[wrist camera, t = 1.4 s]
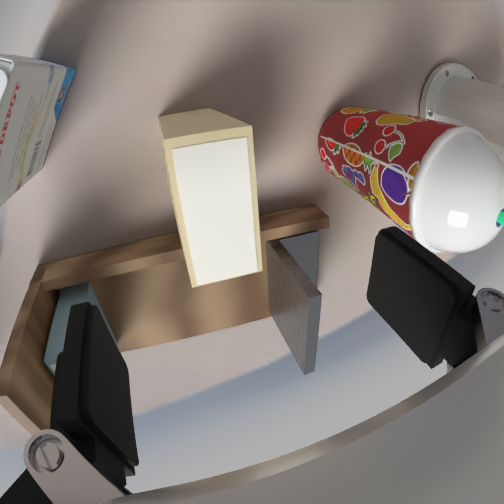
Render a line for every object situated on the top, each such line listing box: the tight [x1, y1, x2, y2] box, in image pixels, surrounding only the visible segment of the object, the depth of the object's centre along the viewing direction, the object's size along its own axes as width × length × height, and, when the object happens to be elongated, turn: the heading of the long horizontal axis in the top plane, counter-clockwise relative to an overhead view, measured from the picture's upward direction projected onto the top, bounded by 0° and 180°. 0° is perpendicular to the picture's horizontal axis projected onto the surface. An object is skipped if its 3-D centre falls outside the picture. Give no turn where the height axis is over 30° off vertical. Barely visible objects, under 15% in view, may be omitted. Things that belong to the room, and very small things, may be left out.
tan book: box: [158, 108, 263, 288], centre depth 20 cm, size 4×8×11 cm, turn 5°
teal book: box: [44, 282, 118, 376], centre depth 24 cm, size 3×8×9 cm, turn 5°
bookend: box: [266, 230, 322, 375], centre depth 28 cm, size 5×9×9 cm, turn 5°
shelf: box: [0, 204, 329, 435], centre depth 24 cm, size 27×12×15 cm, turn 95°
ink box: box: [0, 54, 75, 207], centre depth 13 cm, size 8×5×12 cm, turn 152°
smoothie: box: [318, 107, 504, 253], centre depth 19 cm, size 8×8×20 cm
